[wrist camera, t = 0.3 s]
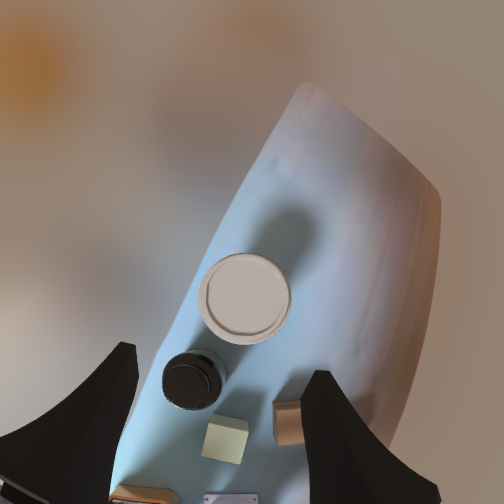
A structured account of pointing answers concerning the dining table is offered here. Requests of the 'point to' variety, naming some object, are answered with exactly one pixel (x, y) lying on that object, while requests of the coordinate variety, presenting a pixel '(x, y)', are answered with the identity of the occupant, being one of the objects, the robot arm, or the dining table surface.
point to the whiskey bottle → (142, 495)
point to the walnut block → (287, 422)
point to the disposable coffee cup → (244, 298)
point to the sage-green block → (225, 439)
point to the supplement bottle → (194, 379)
